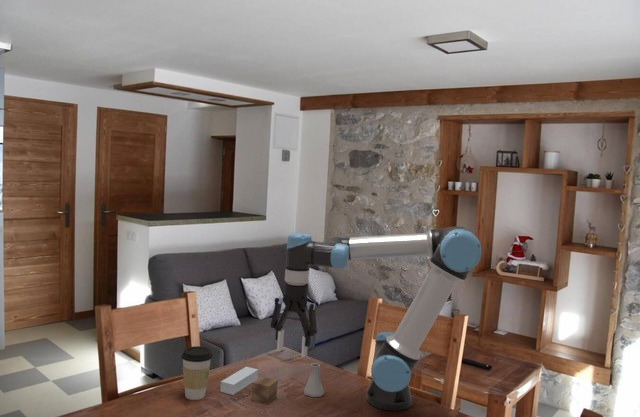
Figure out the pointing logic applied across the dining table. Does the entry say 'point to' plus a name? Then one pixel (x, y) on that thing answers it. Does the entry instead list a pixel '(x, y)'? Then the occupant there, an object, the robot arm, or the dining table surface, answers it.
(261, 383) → the walnut block
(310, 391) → the flask
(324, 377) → the dining table surface
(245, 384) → the white rectangular block
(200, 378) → the coffee cup
